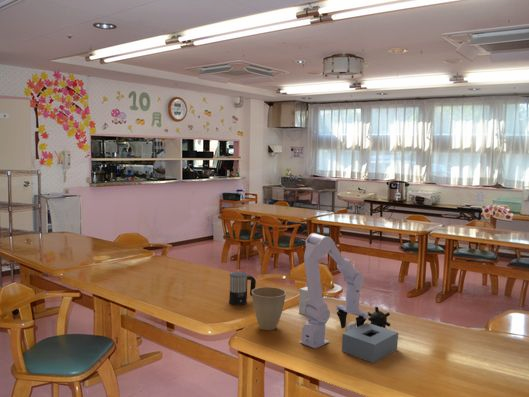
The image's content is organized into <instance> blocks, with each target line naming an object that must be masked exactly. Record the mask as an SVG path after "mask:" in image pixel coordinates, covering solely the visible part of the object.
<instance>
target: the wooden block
mask: <svg viewBox="0 0 529 397" xmlns="http://www.w3.org/2000/svg"><path fill="white" fill-rule="evenodd" d="M356 327H357V323H356V321H353V320H352V321H351V322H348V323H346V326H345V332H347V331H350V330H352V329H354V328H356Z"/></svg>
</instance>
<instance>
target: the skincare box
mask: <svg viewBox="0 0 529 397" xmlns="http://www.w3.org/2000/svg"><path fill="white" fill-rule="evenodd" d="M308 298H309V295H308V287H307V286H304V287H300V288H299V302H298V313H299V314H302V315H304V316H307V315H306V314H305V311H304V310H305V305H306V304H305V301H306V300H307V299H308Z"/></svg>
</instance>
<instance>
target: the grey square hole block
mask: <svg viewBox="0 0 529 397" xmlns="http://www.w3.org/2000/svg"><path fill="white" fill-rule="evenodd" d="M370 323H371V322H370ZM370 323H369V322H364V324H363V325H361V326H359V327H357V326H356V328H354V329H352V330H350V331H347V332H346V331H345V332H343V333H342V340H341V343H342V344H341V352H343V353H345V354H347V355H351V356H353V357H356V358H359V359H362V360H364V361H366V362H370V363H372V364H374V363H376V362H379V361H380V360H381V359H383V358H386V357H387V356H388V355H390V354H392V353H394V352H396V351H397V350H398V344H399V343H398V340H399V332H397V331H395V330H391V329H388V328H386V327H385V328H383V327H379V326H376V325H373V324H370Z"/></svg>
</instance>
